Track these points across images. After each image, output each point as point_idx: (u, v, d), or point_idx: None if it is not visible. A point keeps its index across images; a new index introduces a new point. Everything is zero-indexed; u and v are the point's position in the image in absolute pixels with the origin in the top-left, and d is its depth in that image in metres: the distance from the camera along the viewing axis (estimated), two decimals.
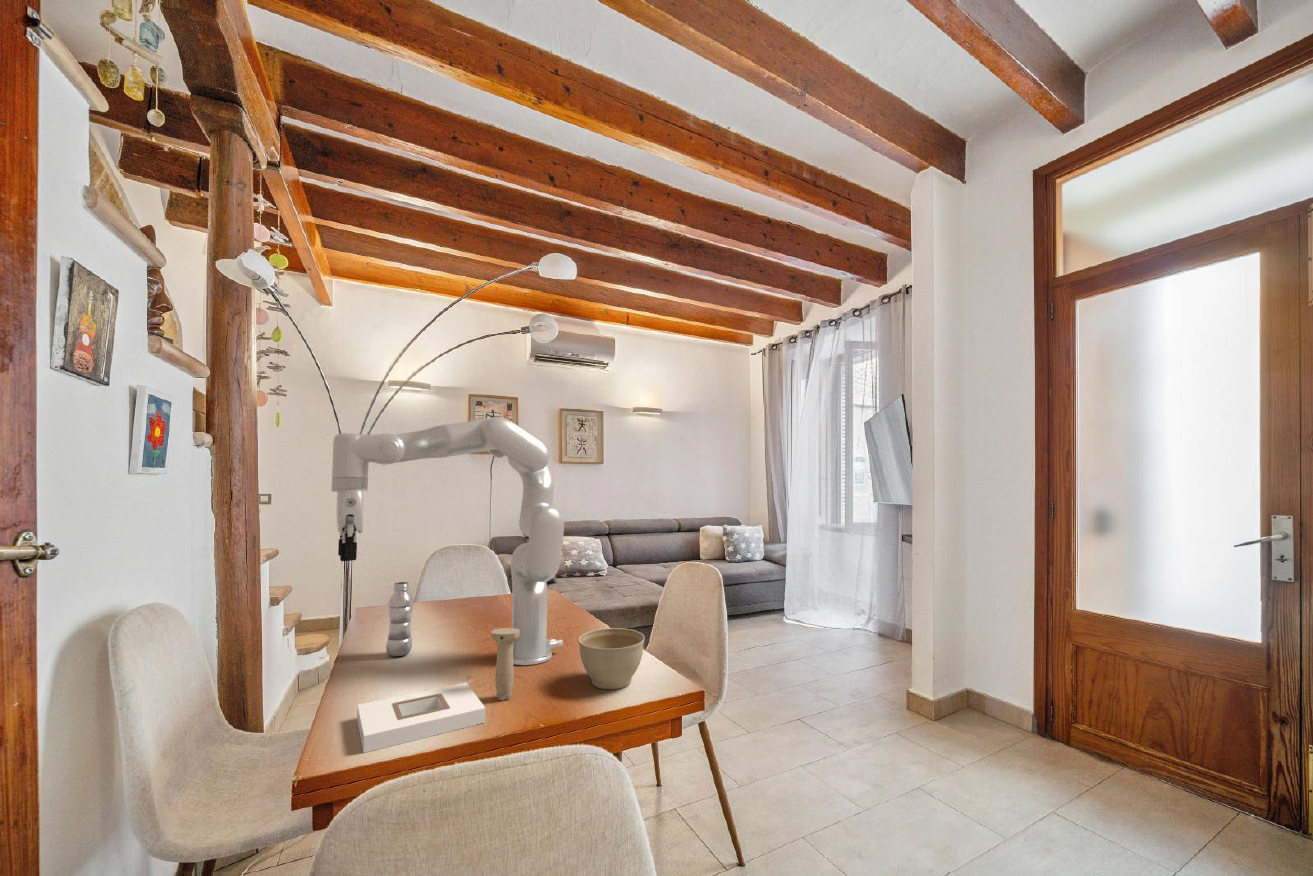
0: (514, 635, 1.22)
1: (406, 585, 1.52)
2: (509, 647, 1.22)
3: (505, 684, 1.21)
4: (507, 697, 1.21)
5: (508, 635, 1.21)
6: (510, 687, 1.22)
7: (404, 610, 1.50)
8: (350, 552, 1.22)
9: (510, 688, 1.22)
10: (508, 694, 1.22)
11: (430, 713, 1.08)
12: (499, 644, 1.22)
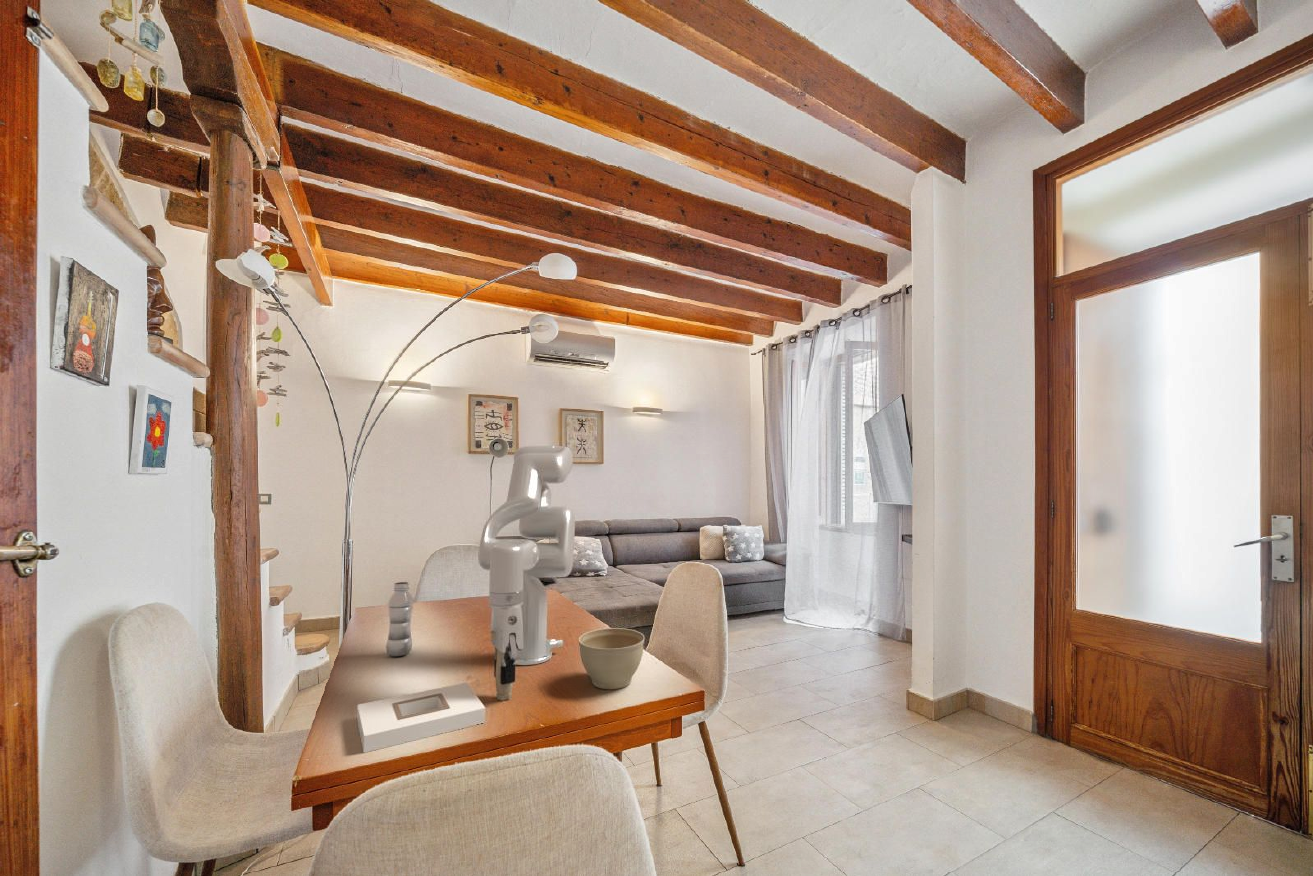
0: None
1: (406, 585, 1.52)
2: None
3: (505, 684, 1.21)
4: (507, 697, 1.21)
5: None
6: (510, 687, 1.22)
7: (404, 610, 1.50)
8: (510, 675, 1.20)
9: (510, 688, 1.22)
10: (508, 694, 1.22)
11: (430, 713, 1.08)
12: None
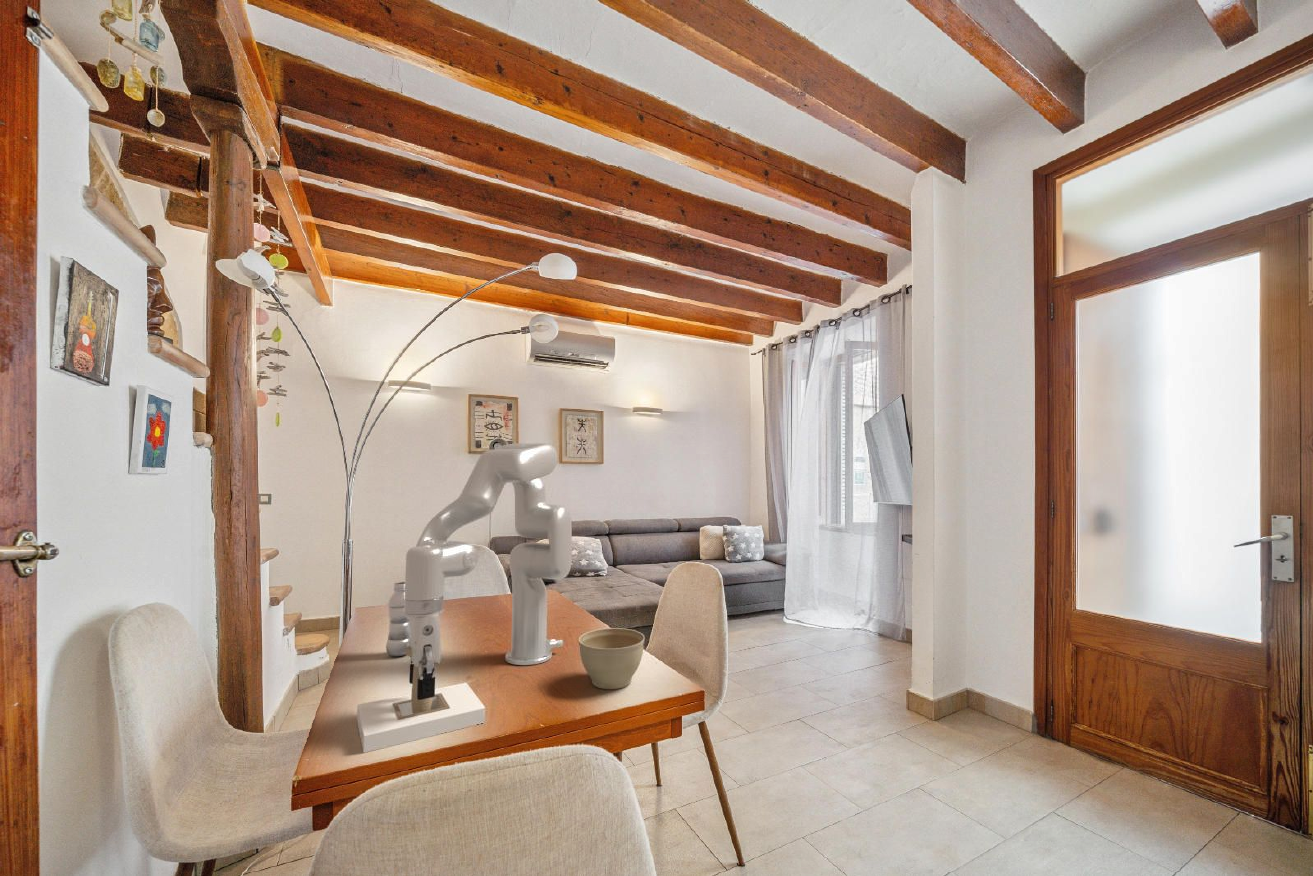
0: None
1: None
2: None
3: (421, 705, 1.10)
4: None
5: None
6: (427, 709, 1.10)
7: None
8: (428, 689, 1.07)
9: (427, 710, 1.11)
10: None
11: (430, 713, 1.08)
12: None
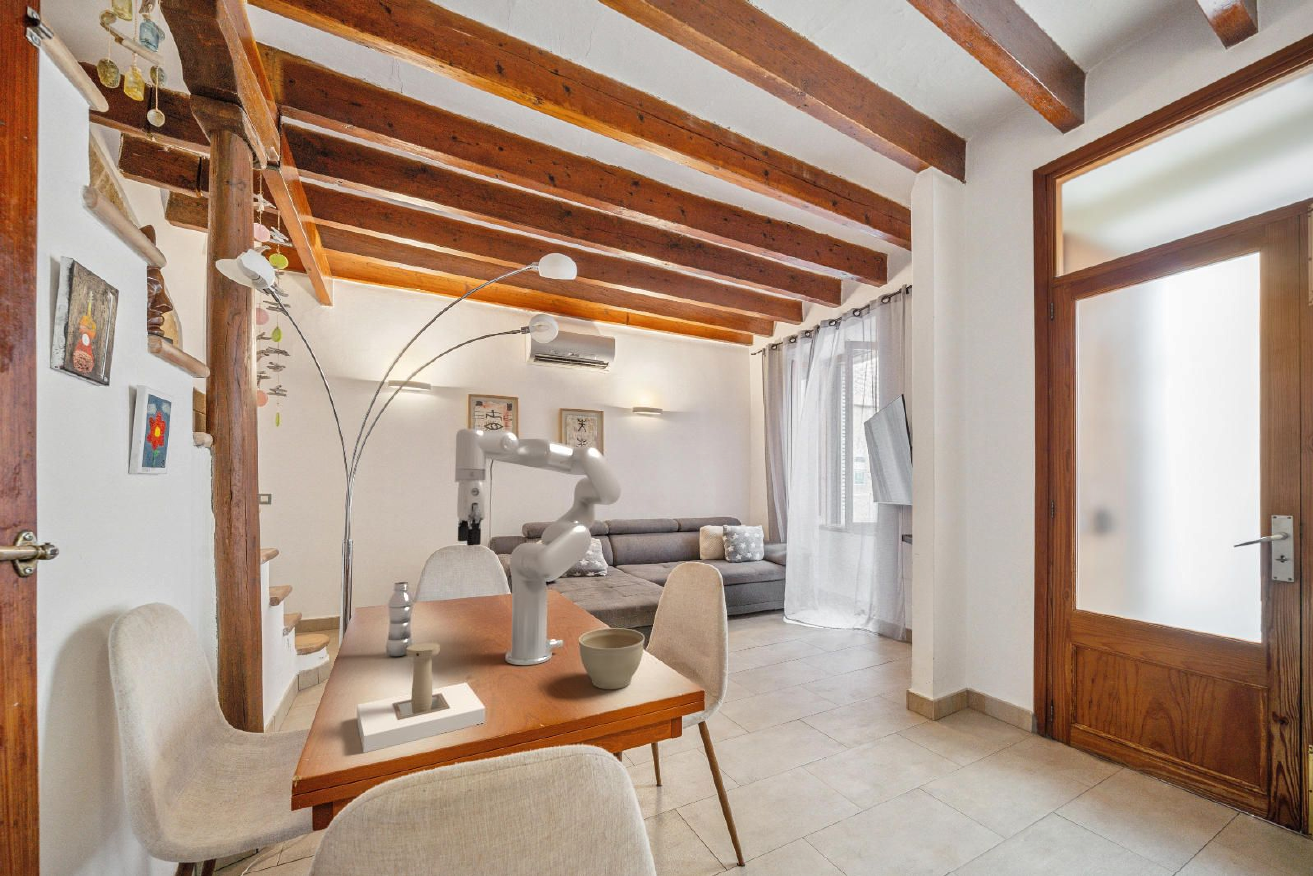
0: (432, 651, 1.10)
1: (406, 585, 1.52)
2: (427, 665, 1.11)
3: (422, 705, 1.10)
4: None
5: (424, 652, 1.10)
6: (427, 709, 1.10)
7: (404, 610, 1.50)
8: (476, 537, 1.34)
9: (427, 710, 1.11)
10: None
11: (430, 713, 1.08)
12: (415, 661, 1.11)
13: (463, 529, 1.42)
